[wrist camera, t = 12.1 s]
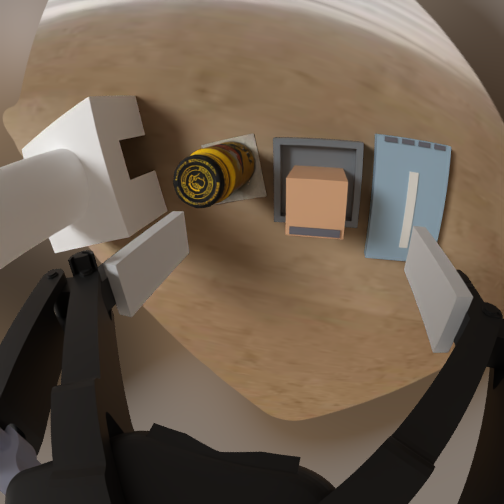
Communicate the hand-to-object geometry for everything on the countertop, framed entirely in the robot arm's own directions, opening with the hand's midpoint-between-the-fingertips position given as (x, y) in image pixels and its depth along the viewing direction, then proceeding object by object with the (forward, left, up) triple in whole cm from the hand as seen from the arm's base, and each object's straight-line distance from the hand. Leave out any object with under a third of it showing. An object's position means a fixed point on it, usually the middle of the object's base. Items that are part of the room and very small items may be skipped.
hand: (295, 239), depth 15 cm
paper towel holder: (-1, -32, -22) cm, 39 cm away
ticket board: (+3, +13, -22) cm, 25 cm away
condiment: (0, -10, -22) cm, 24 cm away
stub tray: (+1, +1, -22) cm, 22 cm away
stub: (+2, +1, -21) cm, 21 cm away
